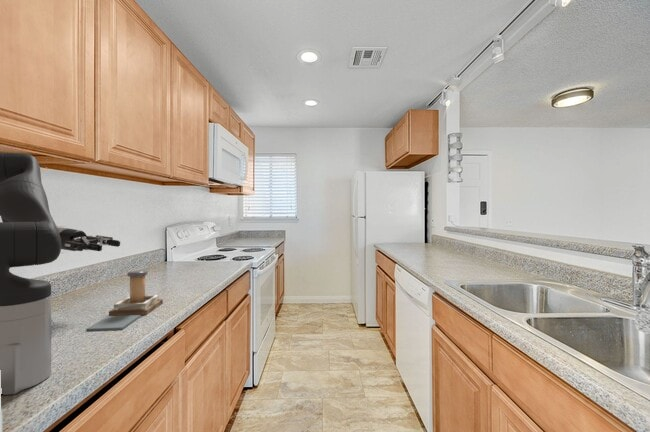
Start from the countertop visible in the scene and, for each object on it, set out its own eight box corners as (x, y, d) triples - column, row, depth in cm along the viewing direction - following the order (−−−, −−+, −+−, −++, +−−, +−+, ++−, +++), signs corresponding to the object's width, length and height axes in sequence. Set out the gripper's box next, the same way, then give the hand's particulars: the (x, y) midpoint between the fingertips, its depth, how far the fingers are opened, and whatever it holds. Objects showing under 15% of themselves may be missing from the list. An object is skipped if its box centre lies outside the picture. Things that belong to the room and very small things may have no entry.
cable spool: (142, 307, 98) (142, 273, 98) (123, 308, 97) (123, 273, 97) (150, 302, 104) (150, 270, 104) (133, 302, 103) (133, 270, 103)
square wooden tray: (146, 314, 96) (146, 304, 96) (108, 315, 94) (108, 305, 94) (162, 303, 108) (162, 294, 107) (129, 304, 106) (129, 295, 106)
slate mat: (122, 329, 84) (123, 327, 84) (86, 330, 82) (86, 328, 82) (140, 316, 94) (140, 315, 94) (108, 317, 92) (108, 316, 92)
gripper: (46, 231, 92) (95, 238, 92) (83, 226, 106) (126, 232, 107) (44, 253, 93) (93, 260, 93) (81, 245, 107) (123, 252, 107)
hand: (110, 245), depth 100 cm, fingers open, 8 cm apart
